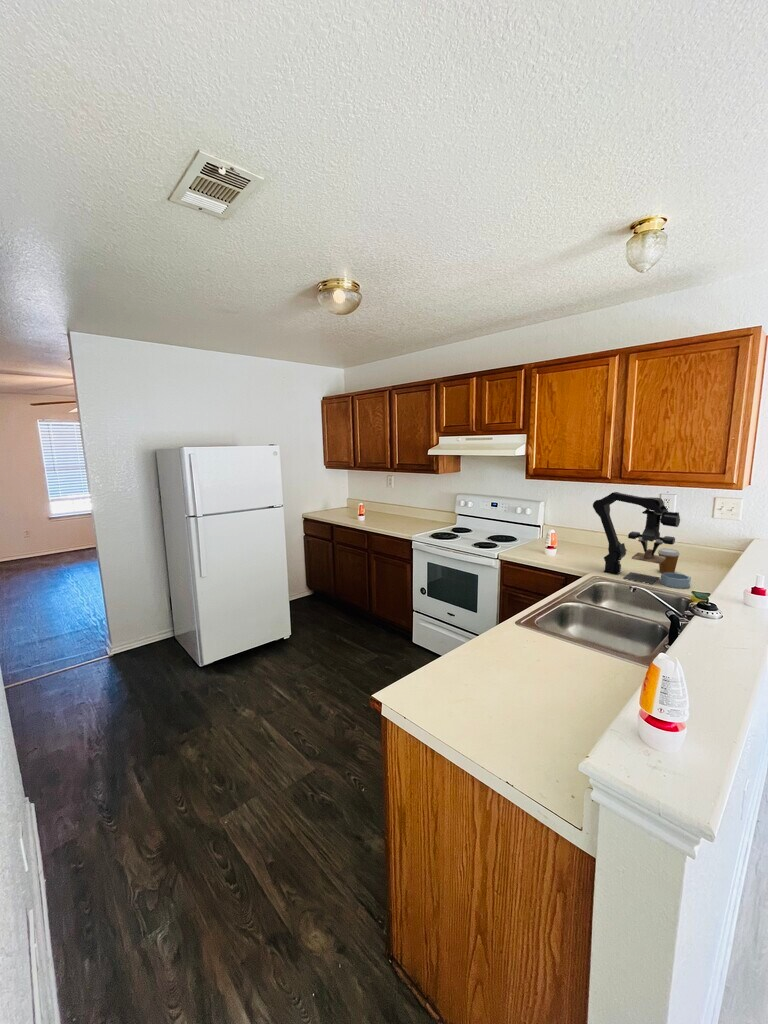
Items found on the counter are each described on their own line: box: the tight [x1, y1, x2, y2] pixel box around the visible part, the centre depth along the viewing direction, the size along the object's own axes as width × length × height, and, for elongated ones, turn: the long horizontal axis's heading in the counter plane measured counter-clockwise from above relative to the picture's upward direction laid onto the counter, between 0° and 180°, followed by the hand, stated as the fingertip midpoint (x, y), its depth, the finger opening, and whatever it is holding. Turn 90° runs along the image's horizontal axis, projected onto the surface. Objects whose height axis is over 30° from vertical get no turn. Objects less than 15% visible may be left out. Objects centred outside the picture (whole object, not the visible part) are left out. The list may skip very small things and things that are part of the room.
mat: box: [622, 571, 661, 585], centre depth 208 cm, size 13×13×1 cm
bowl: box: [659, 572, 692, 589], centre depth 198 cm, size 11×11×4 cm
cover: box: [631, 548, 666, 565], centre depth 204 cm, size 12×12×4 cm
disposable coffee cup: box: [657, 548, 681, 574], centre depth 216 cm, size 10×10×12 cm
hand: (649, 554), depth 204 cm, fingers closed on cover, 2 cm apart
